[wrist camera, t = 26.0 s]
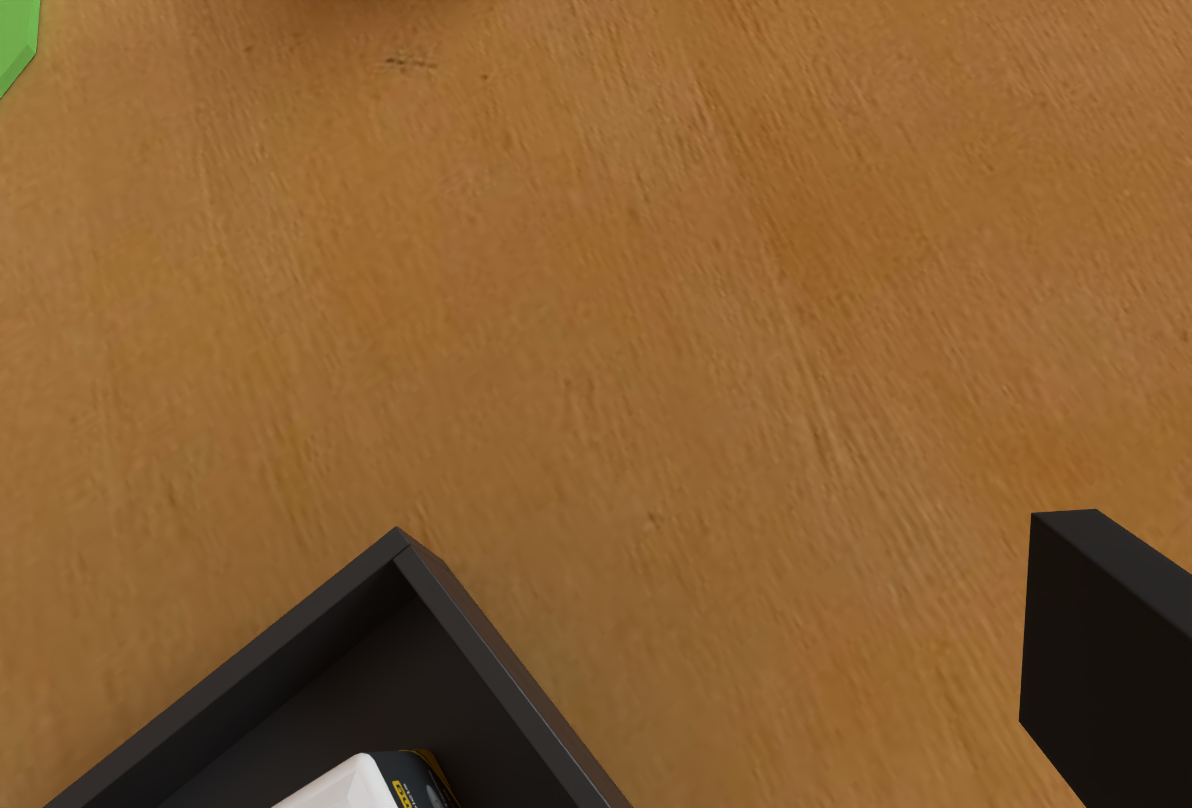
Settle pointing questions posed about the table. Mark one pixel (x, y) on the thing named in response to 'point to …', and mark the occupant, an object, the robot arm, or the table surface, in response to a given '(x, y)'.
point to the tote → (359, 704)
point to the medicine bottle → (378, 783)
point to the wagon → (17, 38)
